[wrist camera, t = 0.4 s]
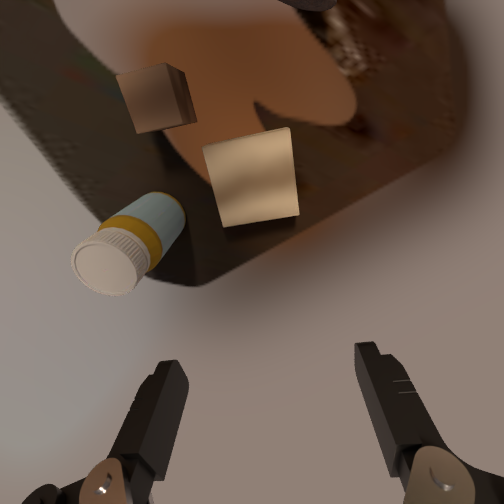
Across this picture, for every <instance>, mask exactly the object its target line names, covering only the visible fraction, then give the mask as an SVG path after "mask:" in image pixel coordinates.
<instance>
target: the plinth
mask: <svg viewBox="0 0 504 504" xmlns="http://www.w3.org/2000/svg"><path fill="white" fill-rule="evenodd" d="M202 151H203V154H204V158H205V162H206V165H207V169H208V172H209V176H210V180H211V184H212V187H213V191H214V195H215V199H216V202H217V206H218V210H219V213H220V217H221V221H222V224H223V227H229V226H235V225H241V224H247V223H253V222H259V221H265V220H271V219H278V218H284V217H290V216H296V215H299V208H298V199H297V190H296V180H295V171H294V162H293V153H292V144H291V135H290V128H288V127H286V128H281V129H276V130H271V131H267V132H261V133H257V134H252V135H248V136H243V137H238V138H233V139H229V140H224V141H219V142H214V143H210V144H207V145H205V146H203V147H202Z"/></svg>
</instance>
